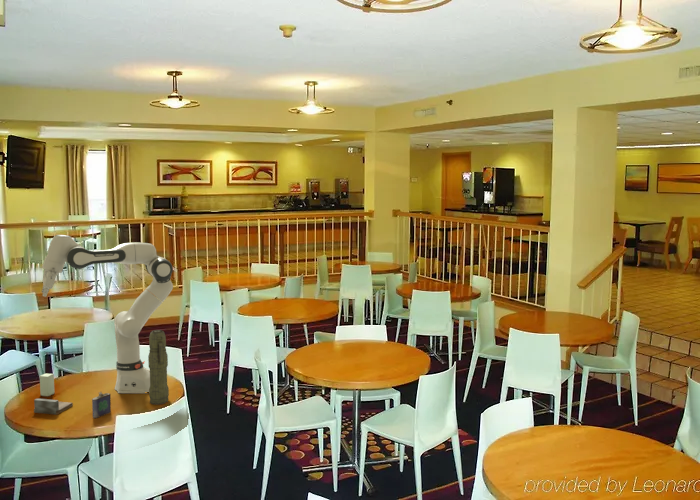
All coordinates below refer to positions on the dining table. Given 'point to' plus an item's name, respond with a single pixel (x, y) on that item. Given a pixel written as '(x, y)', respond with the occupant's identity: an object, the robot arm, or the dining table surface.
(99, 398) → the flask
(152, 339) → the stone statue
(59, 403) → the display stand
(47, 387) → the cabinet block
